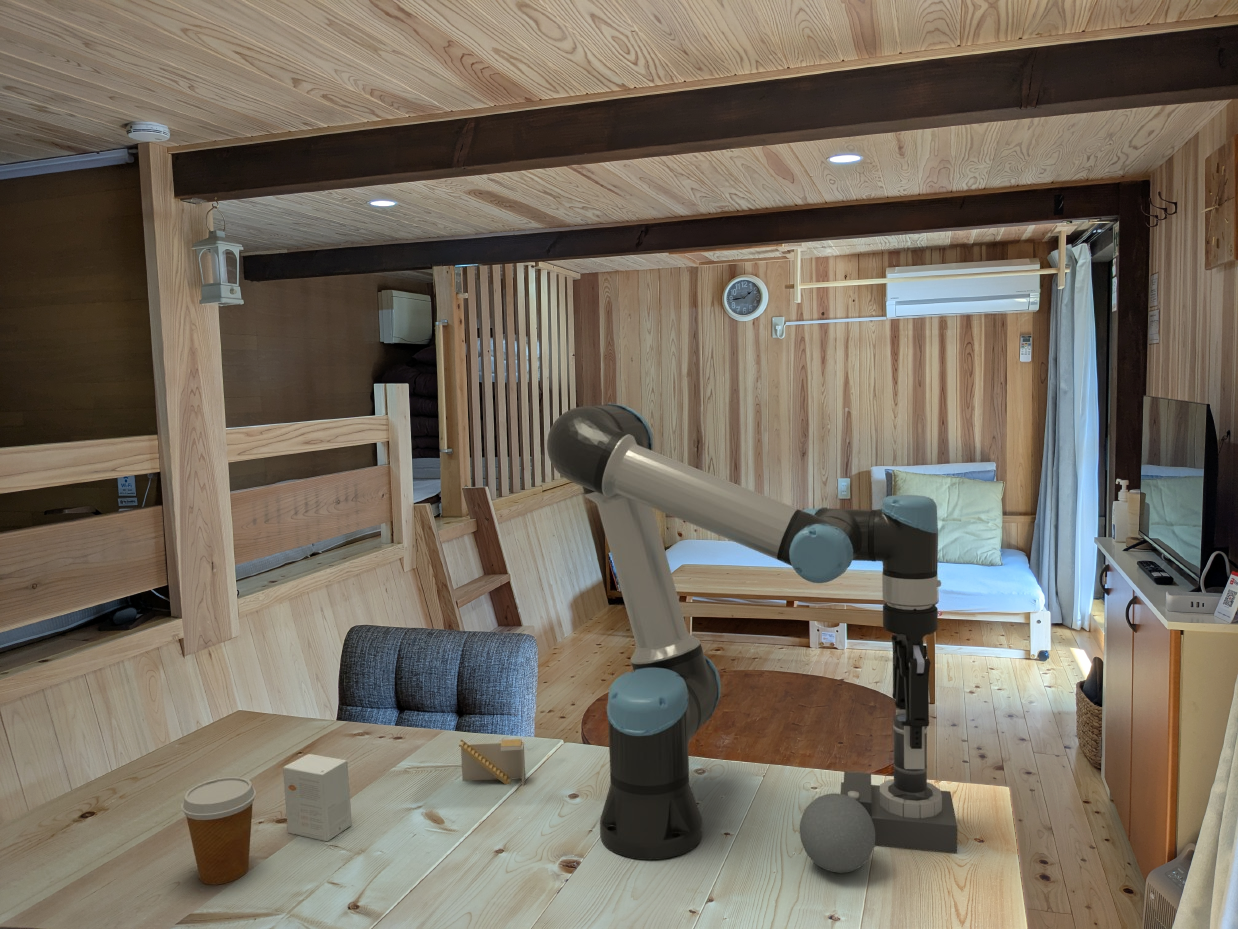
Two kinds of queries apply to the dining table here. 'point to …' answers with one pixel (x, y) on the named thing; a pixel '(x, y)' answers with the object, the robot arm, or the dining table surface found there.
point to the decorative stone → (837, 833)
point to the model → (493, 761)
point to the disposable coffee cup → (220, 827)
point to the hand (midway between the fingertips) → (910, 760)
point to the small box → (317, 797)
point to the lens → (903, 777)
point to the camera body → (905, 814)
